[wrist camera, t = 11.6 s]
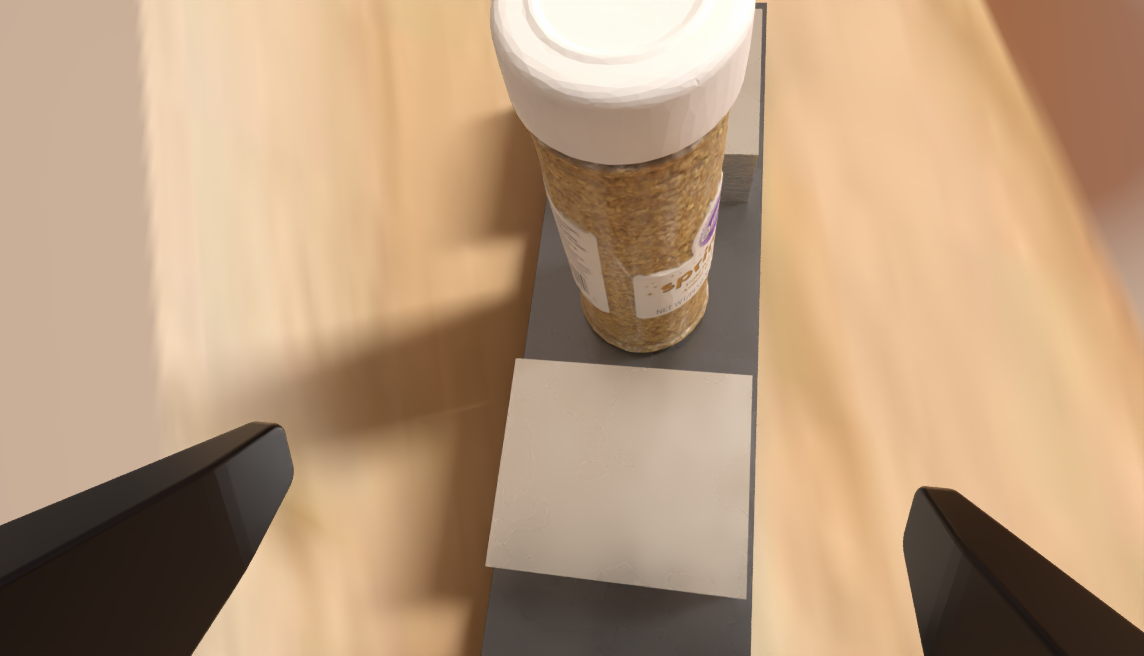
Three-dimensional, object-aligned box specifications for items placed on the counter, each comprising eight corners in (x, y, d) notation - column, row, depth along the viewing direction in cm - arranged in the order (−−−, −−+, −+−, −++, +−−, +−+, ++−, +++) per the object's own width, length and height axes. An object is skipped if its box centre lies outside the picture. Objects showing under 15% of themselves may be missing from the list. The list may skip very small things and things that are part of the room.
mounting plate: (744, 711, 20) (763, 749, 16) (487, 672, 21) (446, 697, 17) (762, 25, 28) (778, -63, 24) (577, 27, 29) (564, -56, 25)
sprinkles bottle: (708, 357, 22) (763, 95, 10) (575, 353, 23) (466, 103, 10) (708, 236, 24) (757, -127, 11) (583, 236, 25) (498, -107, 12)
